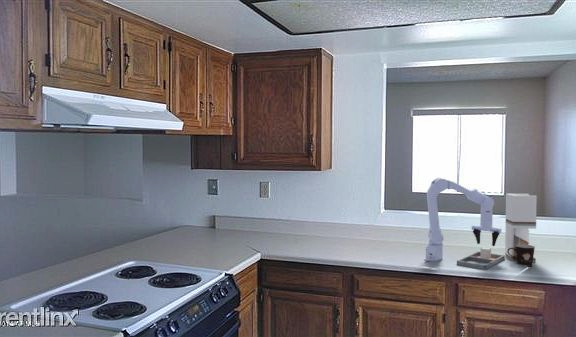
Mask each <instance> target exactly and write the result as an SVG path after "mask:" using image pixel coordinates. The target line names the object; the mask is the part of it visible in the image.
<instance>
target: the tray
mask: <svg viewBox="0 0 576 337" xmlns="http://www.w3.org/2000/svg"><path fill="white" fill-rule="evenodd" d="M505 258H506V257H505V255H504V254H496V253H491V259H485V258H480V251H476V252H473V253H471V254H468V255H466V256H464V257H461V258H460V259H458V260H456V266H462V267H468V268H472V269H480V270H484V271H486V270H488V269H490V268H492V267H493V266H495V265H497V264H499V263H500V262H503V261H505Z"/></svg>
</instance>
